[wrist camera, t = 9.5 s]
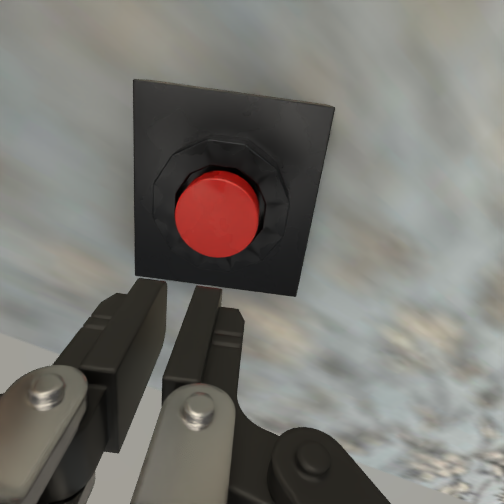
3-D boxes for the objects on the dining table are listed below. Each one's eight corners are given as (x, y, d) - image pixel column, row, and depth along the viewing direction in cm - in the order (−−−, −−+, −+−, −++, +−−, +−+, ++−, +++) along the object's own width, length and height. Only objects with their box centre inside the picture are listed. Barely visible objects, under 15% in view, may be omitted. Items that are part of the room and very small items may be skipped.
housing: (293, 280, 25) (298, 313, 21) (145, 260, 24) (123, 291, 21) (329, 104, 20) (341, 109, 16) (146, 79, 20) (118, 78, 16)
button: (254, 248, 20) (252, 263, 18) (180, 239, 20) (172, 252, 18) (264, 175, 18) (264, 184, 17) (184, 164, 18) (175, 172, 16)
